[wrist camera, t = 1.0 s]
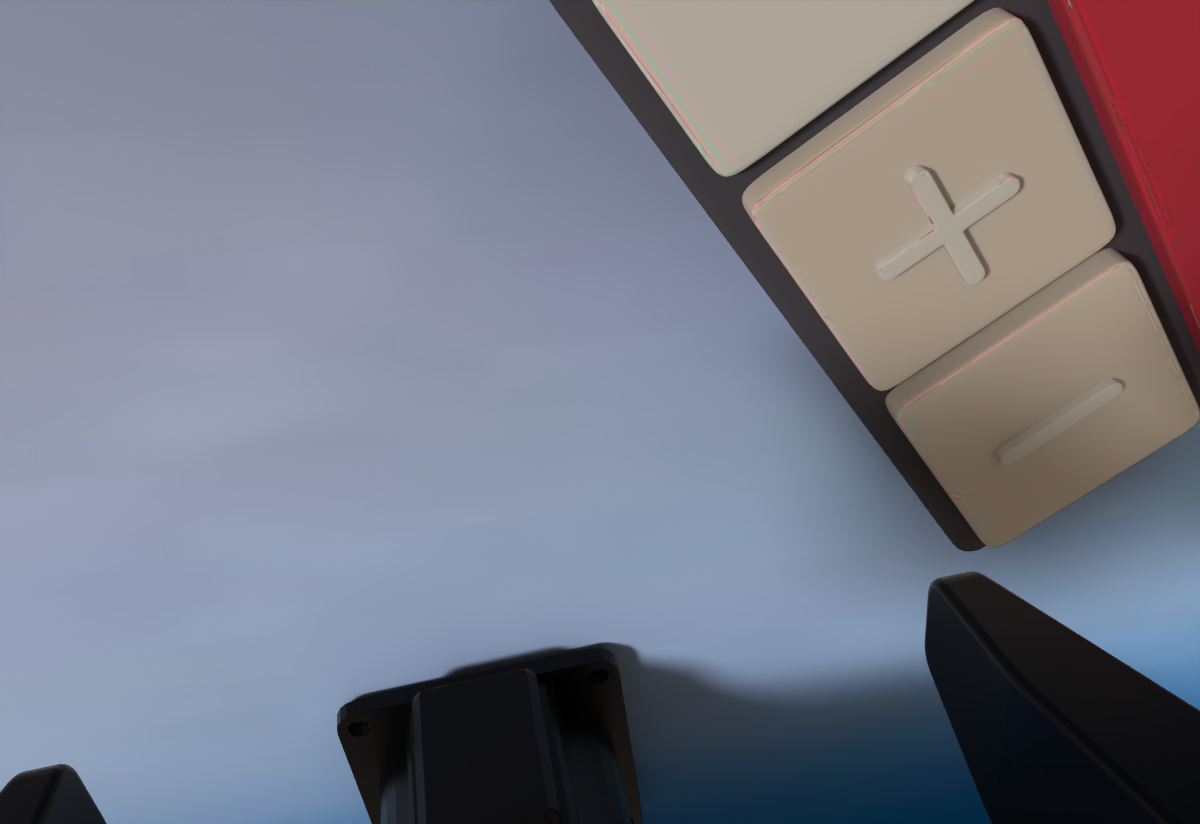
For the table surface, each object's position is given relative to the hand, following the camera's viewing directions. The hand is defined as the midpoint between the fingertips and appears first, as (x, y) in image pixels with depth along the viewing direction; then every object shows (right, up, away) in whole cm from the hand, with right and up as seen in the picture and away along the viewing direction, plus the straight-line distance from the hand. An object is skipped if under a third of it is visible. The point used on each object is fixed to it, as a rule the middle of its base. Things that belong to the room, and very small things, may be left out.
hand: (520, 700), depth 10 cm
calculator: (+8, +9, +11) cm, 16 cm away
